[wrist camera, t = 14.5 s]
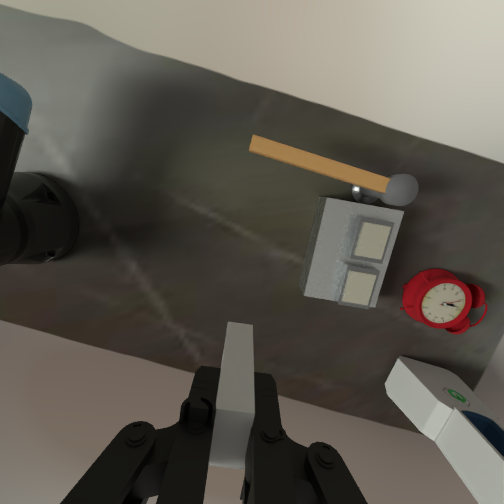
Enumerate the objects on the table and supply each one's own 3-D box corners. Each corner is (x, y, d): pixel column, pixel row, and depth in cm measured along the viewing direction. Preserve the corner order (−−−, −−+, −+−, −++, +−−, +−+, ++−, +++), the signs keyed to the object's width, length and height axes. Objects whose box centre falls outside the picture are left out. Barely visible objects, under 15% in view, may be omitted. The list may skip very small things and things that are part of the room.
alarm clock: (425, 263, 45) (521, 300, 43) (411, 257, 51) (495, 288, 49) (395, 318, 47) (485, 355, 45) (386, 305, 53) (465, 337, 51)
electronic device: (453, 369, 54) (692, 590, 24) (435, 400, 55) (640, 640, 26) (395, 352, 53) (572, 560, 24) (379, 384, 54) (525, 614, 25)
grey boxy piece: (298, 284, 49) (306, 301, 42) (326, 165, 44) (340, 161, 37) (362, 295, 50) (381, 313, 43) (396, 178, 45) (424, 177, 38)
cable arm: (383, 180, 44) (423, 179, 34) (374, 204, 45) (410, 210, 35) (254, 139, 43) (255, 124, 33) (247, 164, 44) (246, 158, 34)
